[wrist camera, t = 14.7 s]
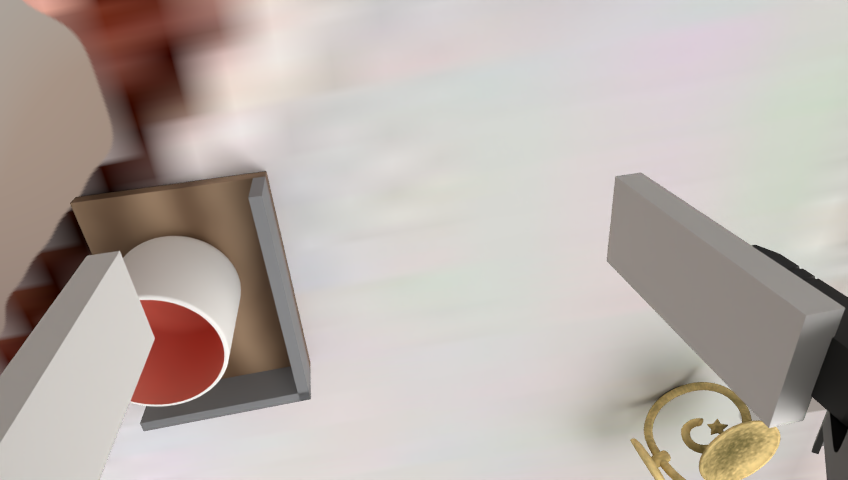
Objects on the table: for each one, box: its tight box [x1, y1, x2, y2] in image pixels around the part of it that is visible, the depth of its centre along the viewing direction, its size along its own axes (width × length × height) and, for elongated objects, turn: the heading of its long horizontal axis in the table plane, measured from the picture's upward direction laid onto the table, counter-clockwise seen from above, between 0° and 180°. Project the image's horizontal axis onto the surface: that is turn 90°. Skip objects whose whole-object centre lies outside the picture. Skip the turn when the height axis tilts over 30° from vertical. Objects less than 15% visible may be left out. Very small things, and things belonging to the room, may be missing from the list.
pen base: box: [70, 171, 310, 379], centre depth 49 cm, size 15×21×1 cm
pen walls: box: [140, 177, 311, 431], centre depth 47 cm, size 15×21×4 cm
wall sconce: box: [630, 382, 780, 480], centre depth 58 cm, size 14×10×25 cm
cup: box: [123, 236, 241, 407], centre depth 43 cm, size 10×10×10 cm
